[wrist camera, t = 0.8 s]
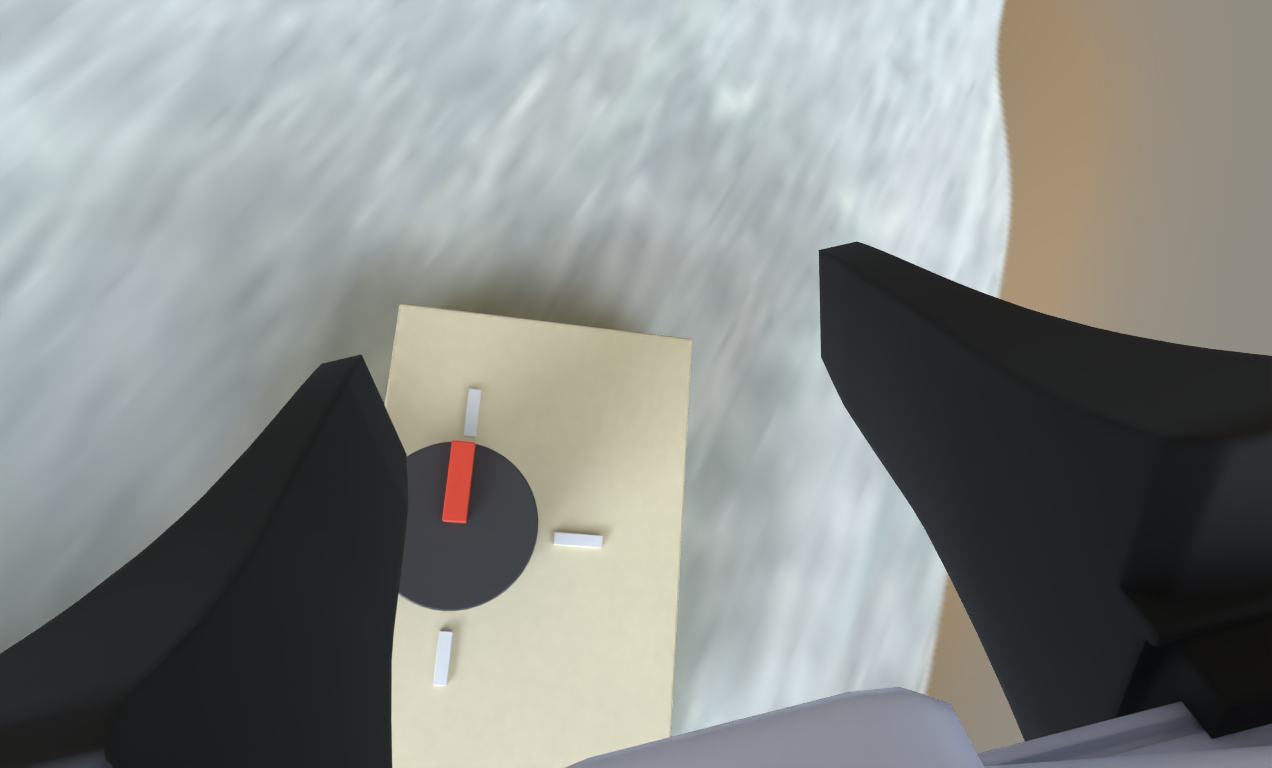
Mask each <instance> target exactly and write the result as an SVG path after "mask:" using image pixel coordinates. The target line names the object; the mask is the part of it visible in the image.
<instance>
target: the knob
mask: <svg viewBox="0 0 1272 768" xmlns="http://www.w3.org/2000/svg"><path fill="white" fill-rule="evenodd" d="M407 476H408V517H407V526H406V535H405V544H404V553H403V561H402V569H401V577H400V586H399V595H400V596H401V597H403V598H405V599H406V600H408V601H410V602H411V603H414V604H416V605H419V606H421V607H424V608H428V609H432V610H439V611H460V610H467V609H470V608H474V607H478V606H480V605H483V604H485V603H487V602H489V601H491V600H493V599H495V598H496V597H498V596H499V595H501V594H502V593H503V592H505V591H506V590H507V589H508V588H509V587H510V586H511V585H512V584H514V583H515V582H516V580H517V579H518V578H519V577H520V575H521V574H522V573H523V571H524V570H525V568H526V566H527V565H528V563H529V561H530V558H531V556H532V554H533V551H534V548H535V545H536V541H537V535H538V511H537V506H536V501H535V498H534V495H533V492H532V490H531V488H530V486H529V484H528V482H527V480H526V479H525V477H524V476H523V474H522V473H521V472H520V470H519V469H518V468H517V467H516V466H515V465H514V464H513V463H512V462H511V461H509V460H508V459H507V458H506V457H504V456H503V455H501V454H499V453H498V452H496V451H494V450H492V449H490V448H488V447H485V446H482V445H478V444H475V443H474V442H465V441H454V440H453V441H452V442H442V443H438V444H433V445H430V446H427V447H424V448H421V449H419V450H417V451H415V452H413V453H411V454H410V455H408V456H407Z"/></svg>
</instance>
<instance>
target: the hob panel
mask: <svg viewBox="0 0 1272 768" xmlns="http://www.w3.org/2000/svg"><path fill="white" fill-rule="evenodd" d="M691 352H692V340H691V339H686V338H678V337H670V336H661V335H653V334H645V333H637V332H629V331H621V330H613V329H605V328H596V327H588V326H580V325H572V324H564V323H556V322H548V321H540V320H531V319H523V318H515V317H507V316H499V315H491V314H483V313H475V312H466V311H458V310H450V309H442V308H434V307H426V306H418V305H410V304H400V306H399V310H398V317H397V324H396V331H395V338H394V344H393V351H392V358H391V365H390V372H389V378H388V385H387V392H386V399H385V407H386V410H387V412H388V414H389V416H390V418H391V421H392V423H393V425H394V427H395V430H396V432H397V434H398V436H399V438H400V441H401V443H402V445H403V447H404V449H405V452H406V454H407V456H408V455H410V454H411V453H413V452H415V451H417V450H419V449H421V448H424V447H427V446H430V445H433V444H438V443H442V442H452V441H453V440H454V441H465V442H474V443H475V444H478V445H482V446H485V447H488V448H490V449H492V450H494V451H496V452H498V453H499V454H501V455H503V456H504V457H506V458H507V459H508V460H509V461H511V462H512V463H513V464H514V465H515V466H516V467H517V468H518V469H519V470H520V472H521V473H522V474H523V476H524V477H525V479H526V480H527V482H528V484H529V486H530V488H531V490H532V492H533V495H534V498H535V501H536V506H537V511H538V535H537V541H536V545H535V548H534V551H533V554H532V556H531V558H530V561H529V563H528V565H527V566H526V568H525V570H524V571H523V573H522V574H521V575H520V577H519V578H518V579H517V580H516V582H515V583H514V584H512V585H511V586H510V587H509V588H508V589H507V590H506V591H505V592H503V593H502V594H501V595H499V596H498V597H496V598H495V599H493V600H491V601H489V602H487V603H485V604H483V605H480V606H478V607H474V608H470V609H467V610H460V611H439V610H432V609H428V608H424V607H421V606H419V605H416V604H414V603H411V602H410V601H408V600H406V599H405V598H403V597H401V596H400V595H399V594H398V602H397V610H396V618H395V627H394V636H393V650H392V716H391V720H392V768H565V767H568V766H570V765H572V764H575V763H577V762H580V761H582V760H585V759H587V758H590V757H594V756H598V755H602V754H606V753H610V752H614V751H617V750H621V749H625V748H629V747H633V746H637V745H641V744H645V743H649V742H653V741H657V740H661V739H665V738H669V737H671V725H672V707H673V688H674V669H675V651H676V632H677V613H678V595H679V576H680V557H681V539H682V520H683V501H684V483H685V464H686V445H687V427H688V408H689V389H690V370H691Z"/></svg>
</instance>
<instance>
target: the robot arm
mask: <svg viewBox="0 0 1272 768" xmlns="http://www.w3.org/2000/svg"><path fill="white" fill-rule="evenodd" d="M819 276H820V325H821V357H822V360H823V362H824V364H825V366H826V369H827V371H828V373H829V375H830V377H831V380H832V382H833V384H834V386H835V388H836V390H837V392H838V394H839V396H840V398H841V400H842V402H843V404H844V406H845V408H846V409H847V411H848V412H849V414H850V416H851V417H852V419H853V420H854V422H855V423H856V425H857V426H858V428H859V429H860V431H861V432H862V434H863V435H864V437H865V438H866V440H867V441H868V443H869V444H870V446H871V447H872V449H873V450H874V452H875V453H876V455H877V456H878V458H879V459H880V461H881V462H882V464H883V465H884V467H885V468H886V470H887V471H888V473H889V474H890V476H891V477H892V479H893V480H894V481H895V483H896V484H897V486H898V487H899V489H900V490H901V492H902V493H903V495H904V496H905V498H906V499H907V501H908V502H909V504H910V505H911V507H912V508H913V510H914V512H915V513H916V515H917V517H918V518H919V520H920V522H921V523H922V525H923V527H924V528H925V530H926V532H927V534H928V536H929V538H930V540H931V542H932V544H933V545H934V547H935V549H936V551H937V553H938V555H939V557H940V559H941V561H942V563H943V565H944V567H945V569H946V571H947V573H948V575H949V576H950V578H951V580H952V582H953V584H954V587H955V589H956V591H957V593H958V595H959V597H960V599H961V601H962V603H963V605H964V607H965V609H966V611H967V613H968V615H969V617H970V619H971V621H972V623H973V625H974V628H975V630H976V632H977V634H978V636H979V638H980V640H981V642H982V645H983V647H984V649H985V651H986V653H987V656H988V658H989V660H990V662H991V665H992V667H993V669H994V671H995V673H996V676H997V678H998V680H999V682H1000V684H1001V686H1002V688H1003V691H1004V693H1005V695H1006V697H1007V700H1008V702H1009V704H1010V707H1011V709H1012V711H1013V714H1014V716H1015V719H1016V721H1017V723H1018V726H1019V728H1020V730H1021V733H1022V735H1023V738H1024V740H1025V742H1022V743H1018V744H1014V745H1010V746H1006V747H1003V748H998V749H995V750H991V751H987V752H983V753H979V754H977V752H976V751H975V749H974V747H973V745H972V743H971V741H970V739H969V737H968V736H967V734H966V732H965V730H964V728H963V726H962V725H961V723H960V721H959V719H958V717H957V715H956V713H955V711H954V710H953V708H952V706H951V704H949V703H947V702H943V701H940V700H938V699H935V698H932V697H929V696H926V695H923V694H920V693H917V692H914V691H911V690H908V689H905V688H901V687H895V688H885V689H875V690H865V691H855V692H847V693H843V694H839V695H835V696H831V697H827V698H823V699H819V700H815V701H811V702H807V703H803V704H799V705H795V706H791V707H787V708H783V709H780V710H776V711H772V712H768V713H764V714H760V715H756V716H752V717H748V718H744V719H740V720H736V721H732V722H728V723H724V724H720V725H716V726H712V727H708V728H704V729H700V730H697V731H693V732H689V733H685V734H681V735H677V736H673V737H669V738H665V739H661V740H657V741H653V742H649V743H645V744H641V745H637V746H633V747H629V748H625V749H621V750H617V751H614V752H610V753H606V754H602V755H598V756H594V757H590V758H587V759H585V760H582V761H580V762H577V763H575V764H572V765H570V766H568V767H565V768H1272V356H1267V355H1258V354H1249V353H1241V352H1233V351H1224V350H1216V349H1208V348H1201V347H1194V346H1188V345H1181V344H1175V343H1169V342H1163V341H1158V340H1153V339H1148V338H1142V337H1137V336H1131V335H1127V334H1120V333H1117V332H1112V331H1108V330H1103V329H1099V328H1095V327H1090V326H1087V325H1083V324H1079V323H1076V322H1072V321H1068V320H1065V319H1061V318H1057V317H1054V316H1050V315H1046V314H1043V313H1040V312H1036V311H1033V310H1030V309H1027V308H1024V307H1021V306H1018V305H1015V304H1012V303H1010V302H1007V301H1004V300H1001V299H998V298H995V297H993V296H990V295H987V294H984V293H982V292H979V291H977V290H974V289H971V288H969V287H966V286H964V285H961V284H959V283H956V282H954V281H951V280H949V279H947V278H944V277H942V276H939V275H937V274H935V273H932V272H930V271H928V270H925V269H923V268H921V267H918V266H916V265H914V264H912V263H909V262H907V261H905V260H902V259H900V258H898V257H895V256H893V255H891V254H888V253H886V252H884V251H881V250H879V249H876V248H874V247H871V246H869V245H866V244H863V243H860V242H853V243H849V244H844V245H840V246H835V247H831V248H827V249H822V250H819ZM407 517H408V476H407V454H406V452H405V449H404V447H403V445H402V443H401V441H400V438H399V436H398V434H397V432H396V430H395V427H394V425H393V423H392V421H391V418H390V416H389V414H388V412H387V410H386V407H385V405H384V403H383V401H382V399H381V396H380V394H379V392H378V390H377V388H376V385H375V383H374V381H373V379H372V377H371V374H370V372H369V370H368V368H367V366H366V363H365V361H364V359H363V357H362V355H358V356H354V357H349V358H345V359H341V360H336V361H332V362H327V363H323V364H321V365H320V366H319V367H318V368H317V369H316V370H315V371H314V372H313V373H312V374H311V376H310V377H309V378H308V379H307V380H306V381H305V382H304V383H303V385H302V386H301V387H300V388H299V389H298V391H297V392H296V393H295V394H294V395H293V396H292V398H291V399H290V400H289V401H288V402H287V404H286V405H285V406H284V407H283V408H282V410H281V411H280V412H279V413H278V414H277V415H276V417H275V418H274V419H273V420H272V421H271V422H270V424H269V425H268V426H267V427H266V428H265V429H264V431H263V432H262V433H261V434H260V435H259V436H258V438H257V439H256V440H255V441H254V442H253V443H252V445H251V446H250V447H249V448H248V449H247V450H246V451H245V452H244V453H243V454H242V455H241V456H240V458H239V459H238V460H237V461H236V462H235V463H234V464H233V465H232V466H231V467H230V468H229V469H228V470H227V471H226V472H225V473H224V475H223V476H222V477H221V478H220V479H219V480H218V481H217V482H216V483H215V484H214V485H213V486H212V487H211V488H210V489H209V490H208V491H207V493H206V494H205V495H204V496H203V497H202V498H201V499H200V500H199V501H197V502H196V503H195V504H194V505H193V506H192V507H191V508H190V509H189V510H188V511H187V512H186V513H185V514H184V515H183V516H182V517H181V518H180V519H179V520H177V521H176V522H175V523H174V524H173V525H172V526H171V527H169V528H168V529H167V530H166V531H165V532H164V533H163V534H162V535H160V536H159V537H158V538H157V539H156V540H155V541H154V542H153V543H151V544H150V545H149V546H148V547H147V548H146V549H144V550H143V551H142V552H141V553H140V554H138V555H137V556H136V557H135V558H133V559H132V560H131V561H129V562H128V563H127V564H125V565H124V566H123V567H122V568H120V569H119V570H118V571H116V572H115V573H114V574H113V575H111V576H110V577H109V578H107V579H106V580H105V581H104V582H102V583H101V584H100V585H98V586H97V587H96V588H94V589H93V590H92V591H91V592H89V593H88V594H87V595H85V596H84V597H83V598H82V599H80V600H79V601H78V602H76V603H75V604H73V605H72V606H71V607H69V608H68V609H66V610H65V611H63V612H62V613H61V614H59V615H58V616H56V617H55V618H53V619H52V620H50V621H49V622H48V623H46V624H45V625H43V626H42V627H40V628H39V629H37V630H36V631H34V632H33V633H31V634H30V635H28V636H27V637H25V638H24V639H22V640H21V641H19V642H18V643H16V644H15V645H13V646H12V647H10V648H8V649H7V650H5V651H4V652H2V653H1V654H0V768H392V720H391V716H392V650H393V636H394V627H395V618H396V610H397V602H398V594H399V586H400V577H401V569H402V561H403V553H404V544H405V535H406V526H407Z"/></svg>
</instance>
